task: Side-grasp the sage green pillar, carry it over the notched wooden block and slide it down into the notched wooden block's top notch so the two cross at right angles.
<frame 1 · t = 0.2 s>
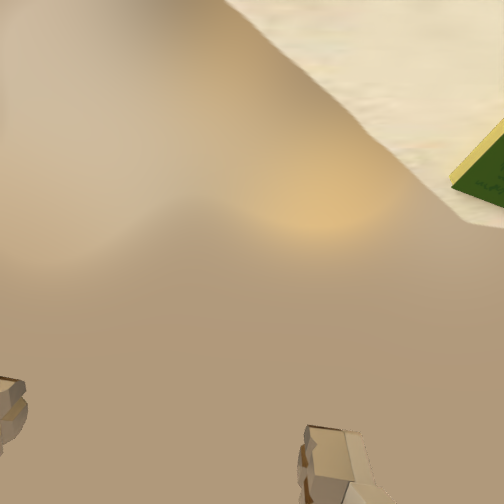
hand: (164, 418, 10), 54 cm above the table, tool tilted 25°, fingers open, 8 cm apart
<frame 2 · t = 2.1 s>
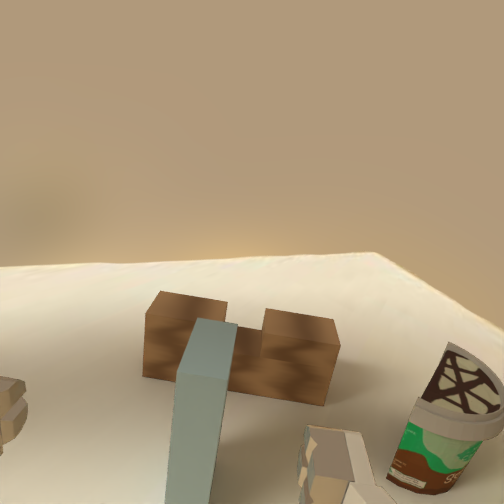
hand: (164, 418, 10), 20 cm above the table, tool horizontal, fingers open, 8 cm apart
sage green pillar: (191, 490, 29), on the table
food container: (433, 468, 35), on the table
notched wooden block: (235, 375, 42), on the table
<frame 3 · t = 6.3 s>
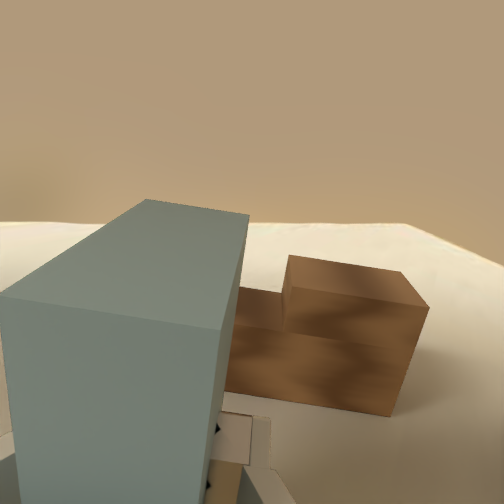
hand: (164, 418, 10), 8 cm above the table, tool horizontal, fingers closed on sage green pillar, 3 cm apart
notched wooden block: (238, 367, 26), on the table
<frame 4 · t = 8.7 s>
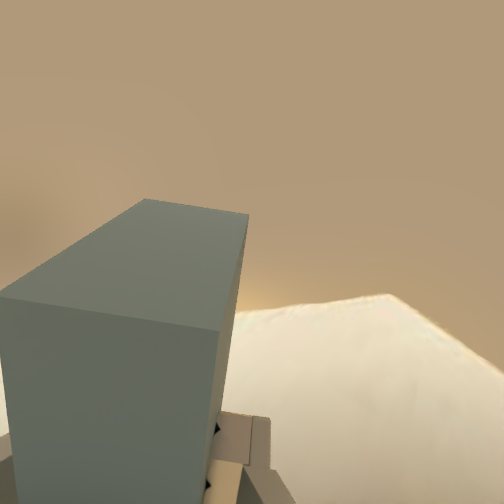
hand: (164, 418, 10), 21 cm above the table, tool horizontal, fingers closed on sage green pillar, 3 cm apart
when the fingers open (14 cm above the table, at t = 10.9 s): sage green pillar drops 1 cm, resting on notched wooden block.
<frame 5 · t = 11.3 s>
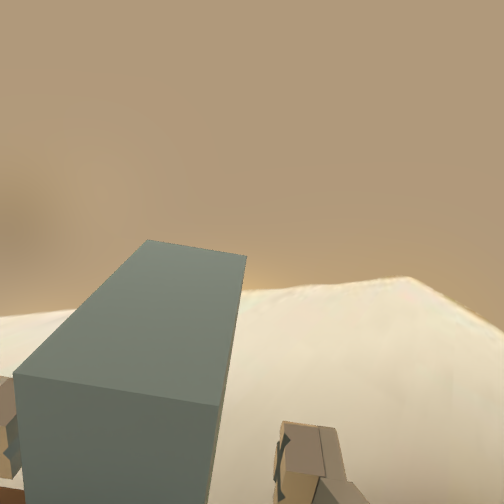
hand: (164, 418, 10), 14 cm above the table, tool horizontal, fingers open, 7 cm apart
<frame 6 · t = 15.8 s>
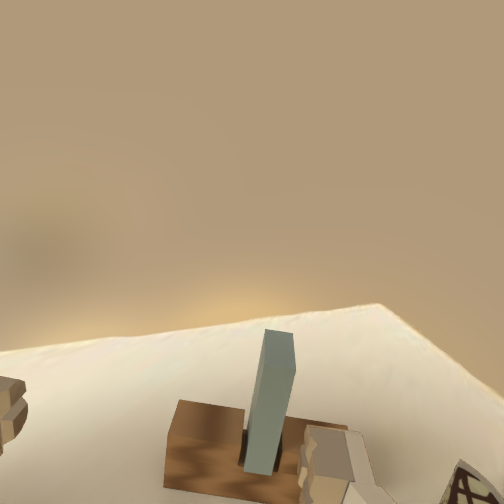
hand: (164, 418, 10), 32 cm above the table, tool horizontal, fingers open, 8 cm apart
sage green pillar: (258, 449, 42), point 5 cm above the table, touching notched wooden block
notched wooden block: (252, 480, 43), on the table
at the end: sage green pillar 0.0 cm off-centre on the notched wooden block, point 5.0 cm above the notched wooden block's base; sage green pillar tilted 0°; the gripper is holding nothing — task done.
